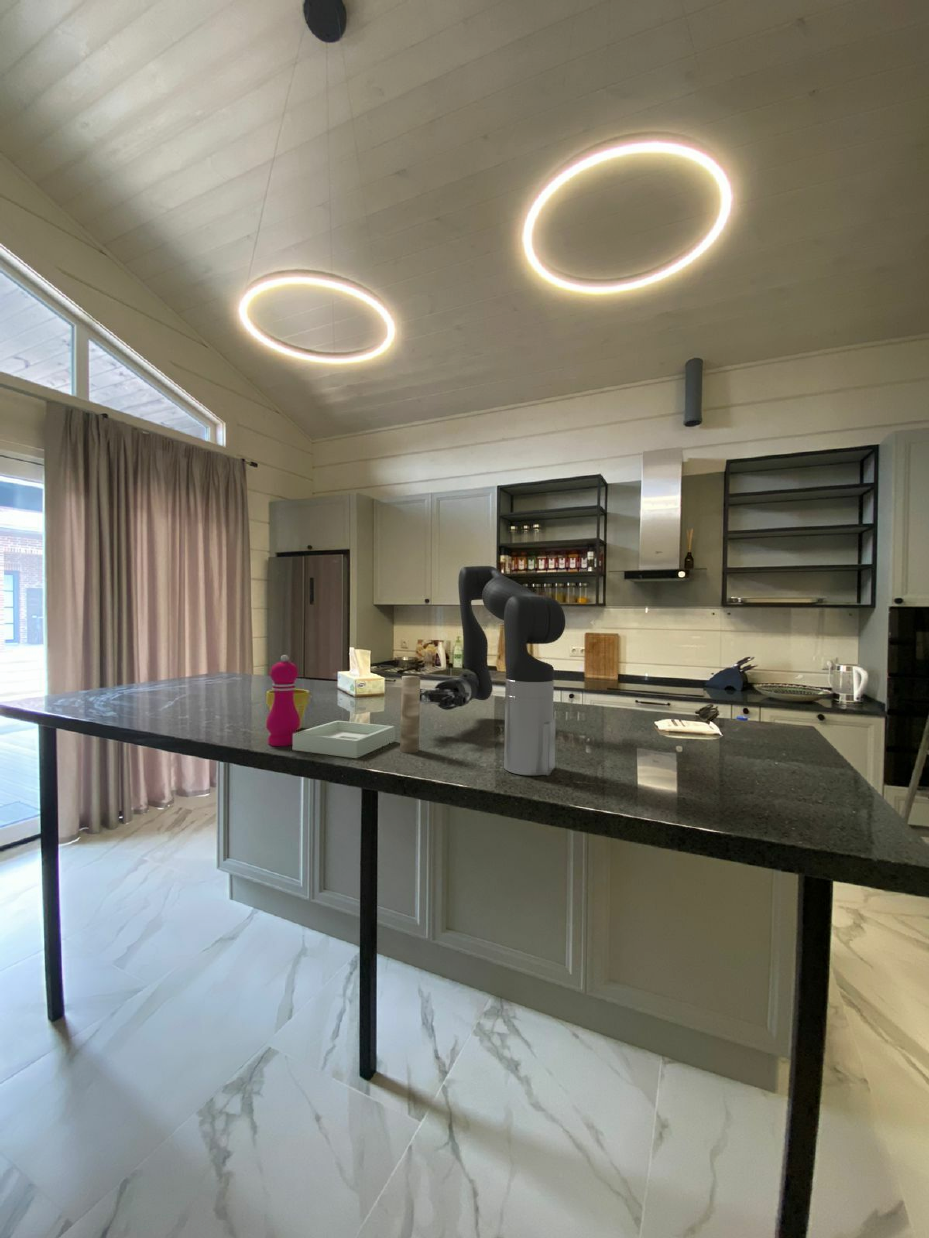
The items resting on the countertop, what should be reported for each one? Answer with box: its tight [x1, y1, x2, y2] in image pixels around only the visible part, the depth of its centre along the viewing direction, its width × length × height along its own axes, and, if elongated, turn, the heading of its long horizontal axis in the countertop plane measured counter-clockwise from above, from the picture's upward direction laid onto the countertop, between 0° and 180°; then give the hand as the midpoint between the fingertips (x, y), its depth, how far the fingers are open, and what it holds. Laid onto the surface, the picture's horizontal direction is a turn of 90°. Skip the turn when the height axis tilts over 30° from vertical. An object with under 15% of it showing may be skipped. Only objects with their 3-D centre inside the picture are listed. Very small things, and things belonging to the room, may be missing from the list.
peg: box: [399, 675, 421, 754], centre depth 108 cm, size 4×4×16 cm
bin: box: [292, 720, 396, 759], centre depth 111 cm, size 16×16×4 cm
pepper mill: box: [265, 654, 300, 747], centre depth 113 cm, size 7×7×20 cm
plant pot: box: [265, 688, 310, 731], centre depth 127 cm, size 10×10×10 cm
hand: (426, 701), depth 115 cm, fingers open, 8 cm apart
